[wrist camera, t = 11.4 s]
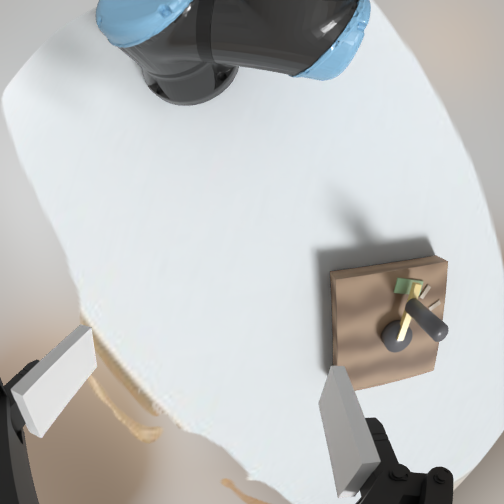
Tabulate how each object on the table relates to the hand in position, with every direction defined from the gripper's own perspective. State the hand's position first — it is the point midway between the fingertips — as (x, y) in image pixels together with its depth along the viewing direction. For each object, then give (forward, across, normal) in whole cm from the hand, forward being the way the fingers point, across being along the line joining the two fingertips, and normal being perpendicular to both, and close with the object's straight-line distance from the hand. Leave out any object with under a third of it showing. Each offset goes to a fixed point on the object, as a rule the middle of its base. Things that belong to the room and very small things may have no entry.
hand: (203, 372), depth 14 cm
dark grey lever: (+28, +27, -7) cm, 39 cm away
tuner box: (+32, +27, -10) cm, 43 cm away
